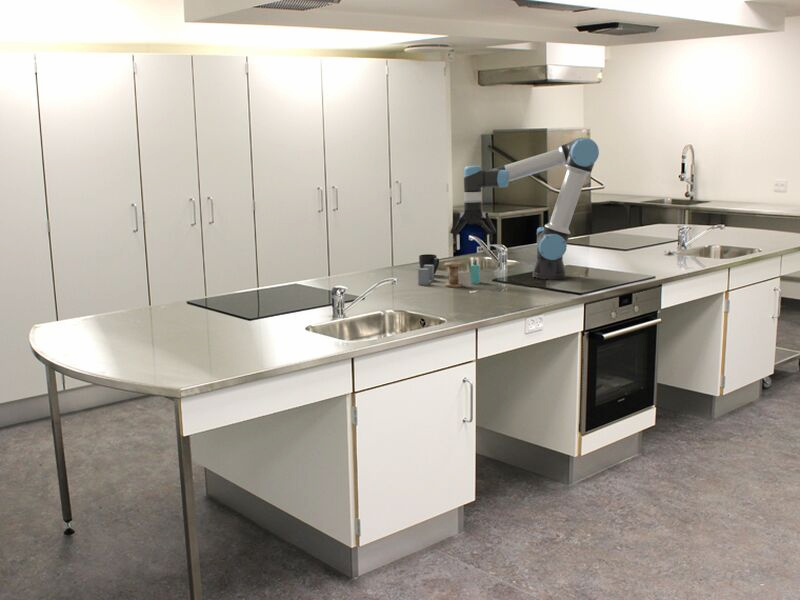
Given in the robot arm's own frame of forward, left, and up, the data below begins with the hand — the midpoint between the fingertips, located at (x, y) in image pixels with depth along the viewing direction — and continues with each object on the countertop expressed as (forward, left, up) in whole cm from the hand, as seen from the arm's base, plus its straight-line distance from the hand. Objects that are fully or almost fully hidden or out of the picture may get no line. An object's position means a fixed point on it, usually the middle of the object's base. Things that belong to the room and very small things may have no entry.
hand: (473, 249), depth 389 cm
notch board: (+21, +2, -15) cm, 26 cm away
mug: (+23, -15, -15) cm, 31 cm away
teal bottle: (-1, 0, -15) cm, 15 cm away
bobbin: (+7, +9, -15) cm, 19 cm away
